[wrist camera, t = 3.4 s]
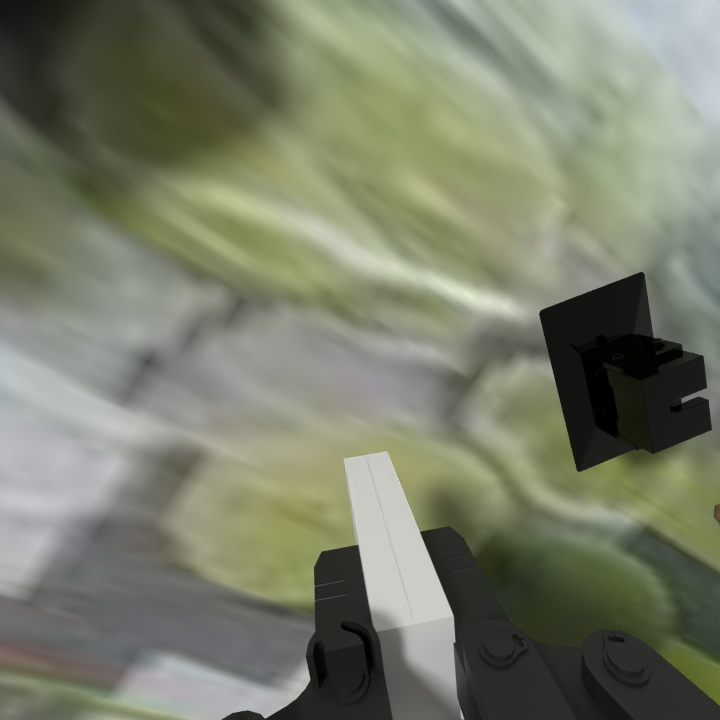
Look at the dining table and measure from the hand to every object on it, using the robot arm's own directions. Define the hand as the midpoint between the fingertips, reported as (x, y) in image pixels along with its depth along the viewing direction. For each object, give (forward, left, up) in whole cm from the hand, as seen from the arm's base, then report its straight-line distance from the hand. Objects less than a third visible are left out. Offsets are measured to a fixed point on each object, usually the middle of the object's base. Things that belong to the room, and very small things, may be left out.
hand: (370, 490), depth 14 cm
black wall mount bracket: (0, -13, -7) cm, 15 cm away
